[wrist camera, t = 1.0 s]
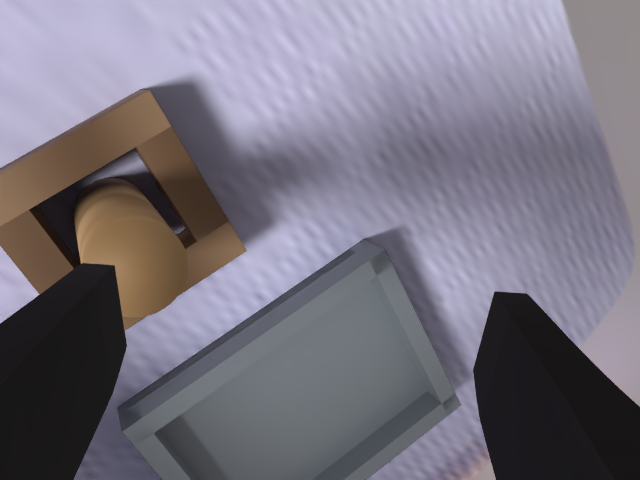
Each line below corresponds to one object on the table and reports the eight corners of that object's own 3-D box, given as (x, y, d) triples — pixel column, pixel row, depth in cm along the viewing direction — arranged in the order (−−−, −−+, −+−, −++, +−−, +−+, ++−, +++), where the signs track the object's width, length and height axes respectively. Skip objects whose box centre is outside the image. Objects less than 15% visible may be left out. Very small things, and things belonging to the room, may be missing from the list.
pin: (101, 262, 22) (121, 336, 16) (57, 203, 21) (60, 256, 15) (163, 224, 23) (206, 280, 16) (124, 164, 22) (153, 200, 15)
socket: (85, 332, 22) (88, 354, 21) (-32, 186, 20) (-40, 197, 18) (232, 237, 24) (246, 250, 22) (141, 88, 21) (149, 90, 19)
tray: (231, 547, 27) (243, 576, 26) (117, 407, 24) (122, 432, 22) (439, 387, 30) (461, 405, 28) (364, 238, 26) (384, 249, 25)
